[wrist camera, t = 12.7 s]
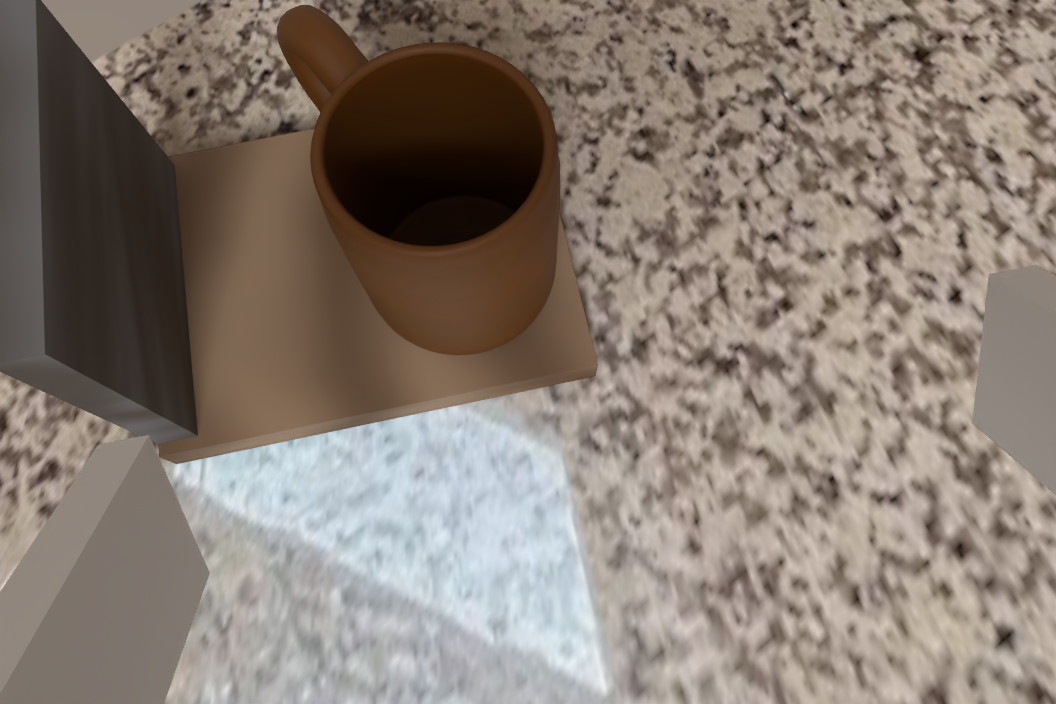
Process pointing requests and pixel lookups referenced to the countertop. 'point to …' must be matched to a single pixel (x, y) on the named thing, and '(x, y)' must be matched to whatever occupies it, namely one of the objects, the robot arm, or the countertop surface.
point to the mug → (433, 181)
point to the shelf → (206, 278)
